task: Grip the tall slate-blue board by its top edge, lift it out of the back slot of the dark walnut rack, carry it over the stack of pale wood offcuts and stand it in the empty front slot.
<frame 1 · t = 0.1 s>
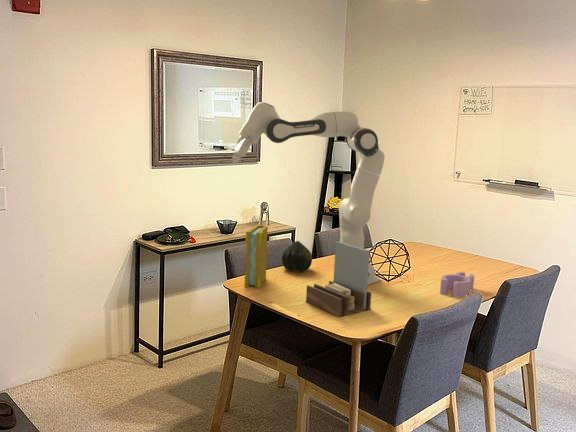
hand: (233, 162, 254), 54 cm above the table, tool tilted 30°, fingers open, 8 cm apart
offcut middle: (338, 299, 233), point 4 cm above the table, touching offcut bottom, offcut top
sheet: (348, 303, 237), point 1 cm above the table, touching rack
clip: (457, 292, 265), on the table
offcut bottom: (337, 305, 234), point 1 cm above the table, touching offcut middle, rack
book: (256, 282, 266), on the table
squash: (296, 270, 289), on the table
rack: (337, 309, 234), on the table
offcut top: (337, 293, 233), point 6 cm above the table, touching offcut middle
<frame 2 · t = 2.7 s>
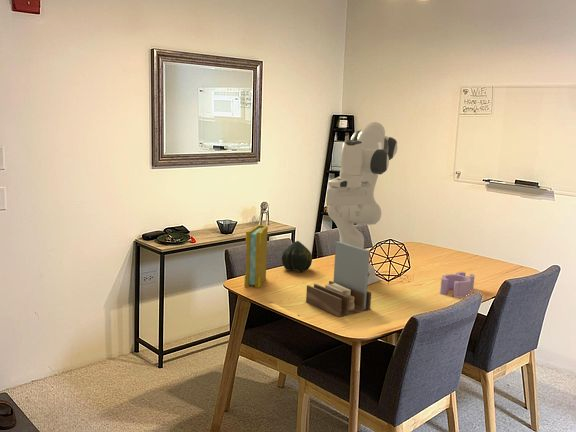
hand: (348, 216, 230), 38 cm above the table, tool pointing down, fingers open, 8 cm apart
nothing on the table moved.
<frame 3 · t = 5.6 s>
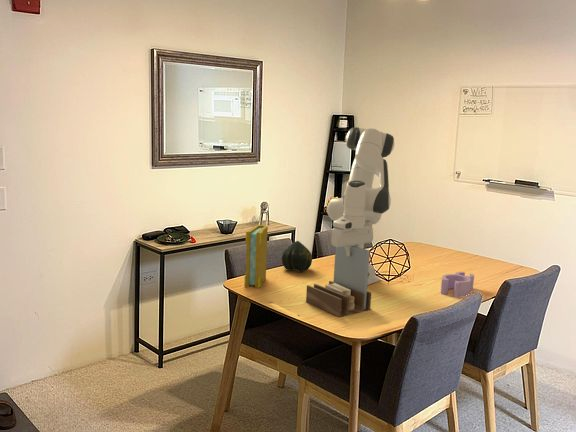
hand: (351, 255, 234), 22 cm above the table, tool pointing down, fingers closed on sheet, 2 cm apart
sheet: (348, 303, 237), point 2 cm above the table, touching gripper, rack
everything else where it was.
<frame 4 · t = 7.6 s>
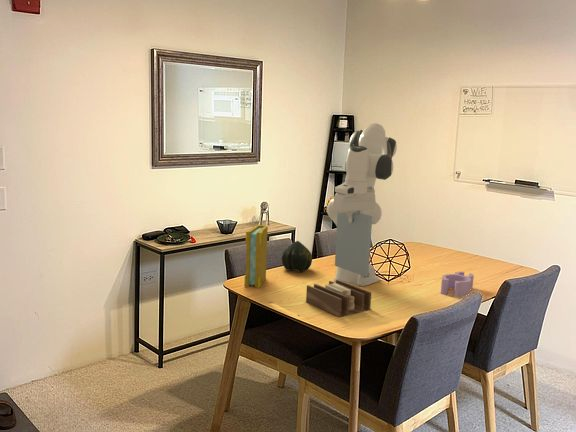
hand: (353, 222, 231), 35 cm above the table, tool pointing down, fingers closed on sheet
sheet: (351, 270, 235), point 15 cm above the table, touching gripper
everything else where it was.
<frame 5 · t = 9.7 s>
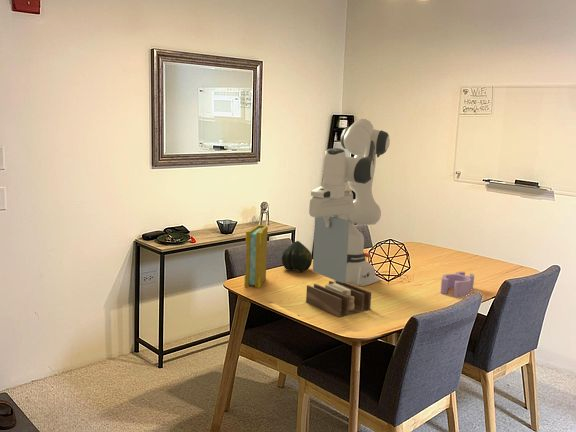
hand: (331, 226, 224), 35 cm above the table, tool pointing down, fingers closed on sheet
sheet: (328, 276, 228), point 14 cm above the table, touching gripper
everything else where it was.
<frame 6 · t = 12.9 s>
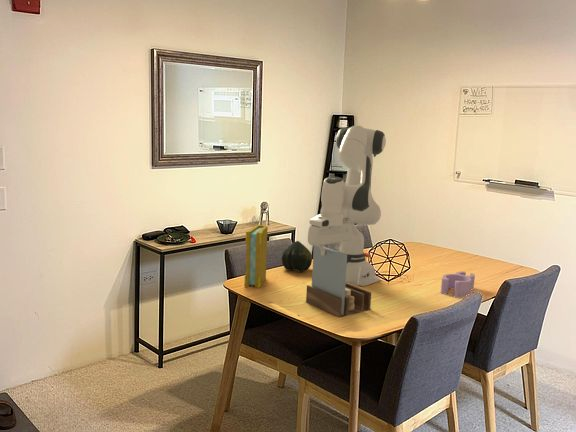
hand: (329, 254, 226), 24 cm above the table, tool pointing down, fingers open, 5 cm apart
sheet: (326, 308, 230), point 2 cm above the table, touching rack
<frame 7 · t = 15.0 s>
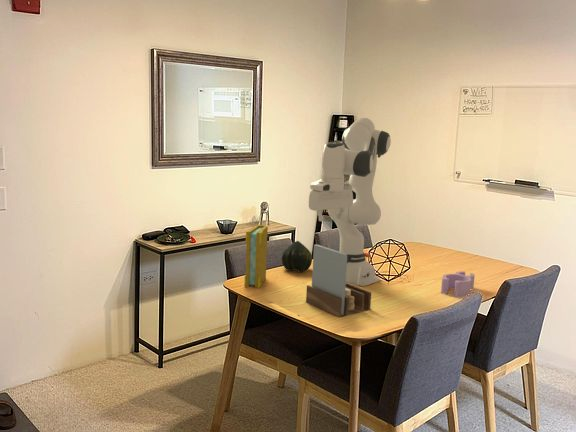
hand: (330, 219, 225), 37 cm above the table, tool pointing down, fingers open, 8 cm apart
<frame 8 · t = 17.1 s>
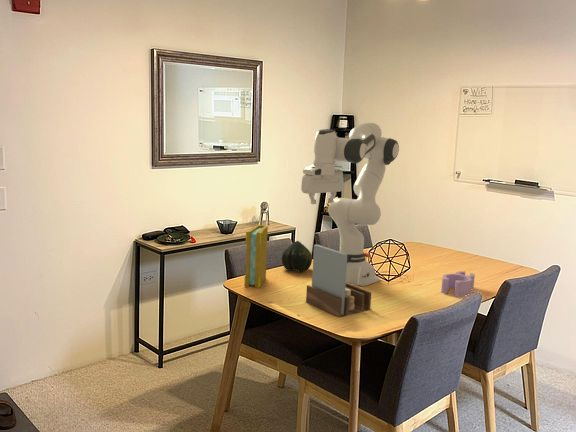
hand: (322, 203, 238), 41 cm above the table, tool pointing down, fingers open, 8 cm apart
at the end: sheet inside the target area on the rack (0.2 cm from its centre), point 1.5 cm above the rack's base; sheet tilted 0°; the gripper is holding nothing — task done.
